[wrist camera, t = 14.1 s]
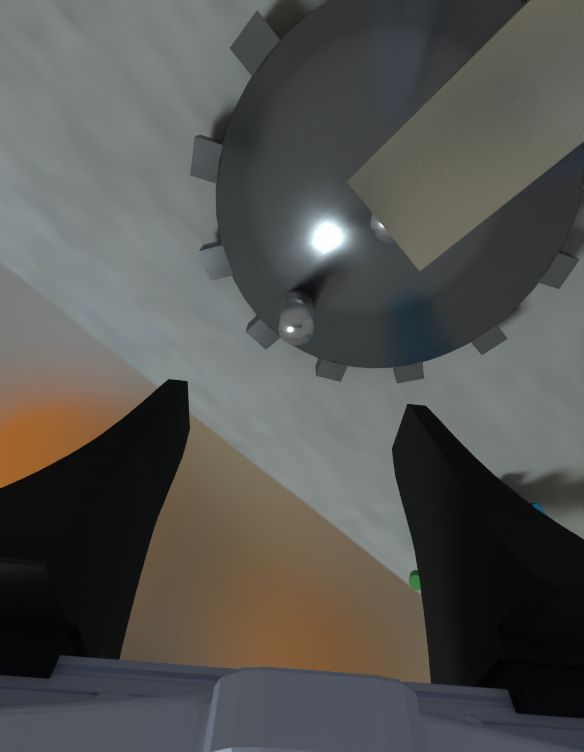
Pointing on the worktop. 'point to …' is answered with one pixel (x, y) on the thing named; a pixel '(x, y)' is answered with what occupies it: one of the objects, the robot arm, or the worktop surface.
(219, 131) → the worktop surface
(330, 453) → the worktop surface
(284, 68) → the sprocket
